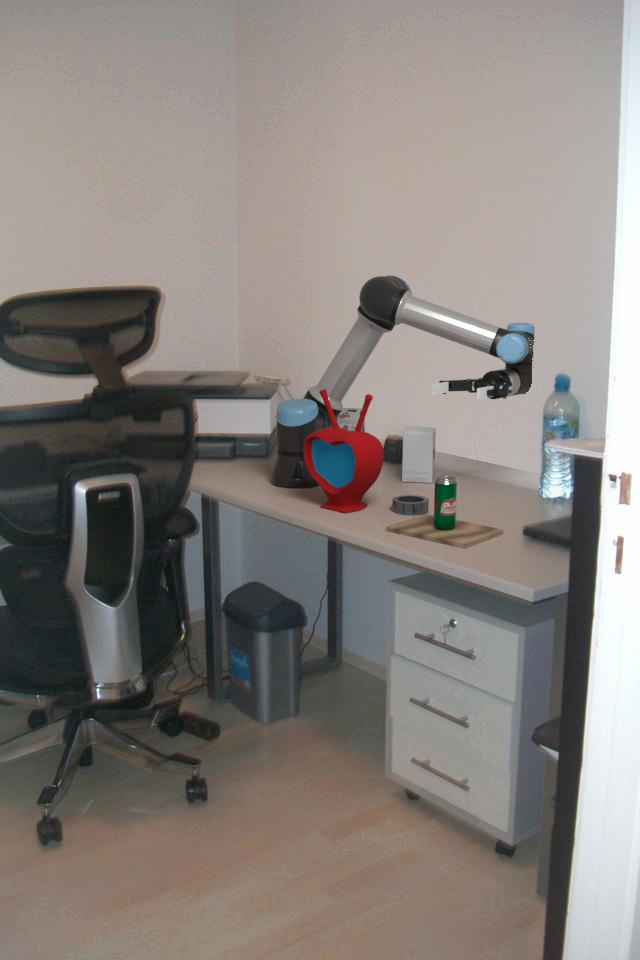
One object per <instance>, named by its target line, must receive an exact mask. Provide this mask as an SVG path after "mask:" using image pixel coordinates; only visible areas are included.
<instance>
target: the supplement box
mask: <svg viewBox="0 0 640 960" xmlns="http://www.w3.org/2000/svg"><path fill="white" fill-rule="evenodd" d="M436 429H437V428H436V427H428V426H426V427H425V426H421V427H420V426H406V427H405V428H404V430H403V431H402V461H401V462H402V464H401V465H402V466H401V482H404V483H418V484H419V483H422V484H423V483H424V484H426V483H427V484H433V481H434V478H435V467H436V435H437V434H436Z"/></svg>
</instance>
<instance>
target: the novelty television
mask: <svg viewBox="0 0 640 960" xmlns="http://www.w3.org/2000/svg"><path fill="white" fill-rule="evenodd" d="M319 393H320V395H321V396H322V398H323V401H324V403H325V406H326V409H327V412H328V414H329V417H330V420H331V423H332V427H333V428H325V429H321V430H318V431H315V432H313V433H312V434H310V435H309V436H308V437H307V438H306V440H305V442H304V446H303V451H304V458H305V462H306V465H307V468H308V470H309V472H310V473H311V475H312V476H313V478H314V479H315V480H316V481H317V482H318V484H319V485H318V486H319V487H320V488H321V490H322V491H323V492H324V494H325V496H326V498H327V501H328V502H325V503H322V504H321V505H319V507H320V508H321V509H325V510H330V511H334V512H337V511H338V513H341V512H342V514H350V513H356V512H360V511H362V510H364V509H365V508H367V506H368V503H366V502H362V501H363V499H364V497H365V494H366V493H367V492H368V491H369V490H370V488H371V487H372V486H373V485H374V484H375V483H376V481H377V480H378V478H379V476H380V475H381V472H382V468H383V465H384V461H385V460H384V458H385V454H384V445H383V444H382V442H381V441H380V440H379V439H378V438H377V436H375V435H373V434H371V433H369V432H366V431H365V432H363V431H361V429H362V425H363V422H364V419H365V420H366V416H367V412H368V411H369V407H370V404H371V402H372V400H373V399H374V396H373V395H372V394H370V393H368V394H365V397H364V402H363V405H362V408H361V409H362V411H361V414H360V417H359V420H358V422H357V425H356V427H355V431H348V430H346V429H343V428H339V425H338V423H337V421H336V418H335V415H334V413H333V410H332V407H331V404H330V402H329V399H328V395H327V390H326V389H323V390H321V391H319Z"/></svg>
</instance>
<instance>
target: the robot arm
mask: <svg viewBox="0 0 640 960" xmlns="http://www.w3.org/2000/svg"><path fill="white" fill-rule="evenodd" d="M412 293H413V292H412V290H411V287H410V285H409V284H408V283H407V282H406V280H404V279H402V278H400V277H399V276H396V275H384V276H383V275H381V276H380V275H379V276H374V277H372V278H370V279H368V280H367V281H366V282H365V283H364V284H363V285H362V287H361V289H360V292H359V297H358V298H359V300H358V301H359V306H358V307H357V308H356V311H357V312H356V313H357V315H358V316H357V317H358V318H357V319H356V321H355V323H354V324H353V326H352V327H351V329H350V331H349V332H348V334H347V336H346V337H345V339H344V340H343V342H342V343H341V345H340V347H339V348H338V350H337V352H336V353H335V355H334V357H332V358H333V359H332V360H331V362H330V364H329V365H328V367H327V368H326V370H325V372H324V373H323V374H322V376H321V378H320V380H319V382H318V383H317V385H314V386H310V387H309V388H308V390H307V391H306V393H305V394H304V396H303V398H293V399H290V400H289V399H287V400H285V401H284V400H283V401H282V402H280V403H279V404H278V405H277V408H276V414H275V415H276V416H275V418H276V446H277V447H276V450H277V451H276V460H275V463H274V467H273V472H272V473H271V484H272V485H273V486H274V485H275V486H277V487H281V488H291V489H292V488H294V489H295V488H296V489H297V488H298V489H299V488H300V489H301V488H310V487H317V486H320V485H319V484H318V482H317V481H316V480H315V479H314V478H313V476H312V475H311V473H310V472H309V470H308V468H307V465H306V462H305V458H304V451H303V446H304V442H305V440H306V438H307V437H308V436H309V435H310V434H312V433H313V432H315V431H318V430H321V429H325V428H333V427H332V423H331V420H330V417H329V414H328V412H327V409H326V406H325V403H324V401H323V398H322V396H321V395H320V393H319V391H321V390H323V389H326V390H327V395H328V399H329V402H330V404H331V407H332V410H333V413H334V415H335V418H336V421H337V419H338V415H339V414H340V412H341V411H342V409H343V408H344V406H343V401H342V400H343V399H344V398H345V396H346V394H347V393H348V391H349V390H350V388H351V386H352V384H353V383H354V382H355V381H356V379H357V377H358V375H359V374H360V372H361V370H362V369H363V367H364V366H365V365H366V363H367V361H368V360H369V357H370V356H371V354H372V353H373V352H374V349H375V348H376V346H377V345H378V343H379V342H380V340H381V338H382V337H383V336H384V334H385V333H389V332H392V331H393V329H394V327H395V326H399V325H400V324H404V325H406V326H409V327H412V328H415V329H418V330H420V331H424V332H425V333H428V334H431V335H434V336H437V337H440V338H442V339H445V340H448V341H451V342H454V343H457V344H459V345H463V346H465V347H468V348H470V349H473V350H477V351H479V352H481V353H483V354H484V353H485V354H488V355H490V356H492V357H494V358H496V359H497V358H498V359H500V360H501V361H502V362H503V363H505V365H504V368H502V369H496V370H490V371H487V372H485V374H483V376H482V378H481V377H479V378H474V379H471V378H467V379H455V380H454V379H453V380H451V379H450V380H439V381H438V382H437V383H431V393H430V394H431V395H432V396H434V395H435V396H436V395H441V394H443V395H447V394H448V393H449V392H468V393H470V394H472V393H473V394H474V393H475V394H476V400H483V399H489V400H499V399H503V400H506V399H507V397H512V396H518V395H526V394H527V393H526V392H528V391H529V389H530V387H531V384H532V361H533V362H534V352H533V345H534V346H535V337H534V334H535V325H534V323H531V324H529V323H530V322H511V323H508V324H507V326H506V329H505V328H502V327H501V326H500V327H499V326H497V325H493V324H491V323H488V322H487V321H486V322H485V321H482V320H480V319H476V318H474V317H471V316H469V315H466V314H464V313H460V312H458V311H456V310H455V311H454V310H452V309H449V308H446V307H443V306H441V305H437V304H435V303H433V302H430V301H426V300H424V299H421V298H418V297H415V296H413V294H412ZM533 325H534V326H533ZM528 338H529V339H528ZM529 340H530V341H529ZM533 340H534V341H533ZM530 344H531V345H530ZM530 347H531V348H530ZM532 358H533V360H532Z"/></svg>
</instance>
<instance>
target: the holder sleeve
mask: <svg viewBox="0 0 640 960" xmlns="http://www.w3.org/2000/svg"><path fill="white" fill-rule="evenodd" d="M391 500H392V501H391V502H392V506H391V507H392V508H391V509H392V510H391V512H393V513H395V514H397V515H402V516H421V515H424V514H429V507H430V506H429V505H430V504H429V502H430V499H429V498H428V497H426V496H422V495H416V494H415V495H414V494H405V495H397V496H394V497H393V498H392V499H391Z"/></svg>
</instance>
